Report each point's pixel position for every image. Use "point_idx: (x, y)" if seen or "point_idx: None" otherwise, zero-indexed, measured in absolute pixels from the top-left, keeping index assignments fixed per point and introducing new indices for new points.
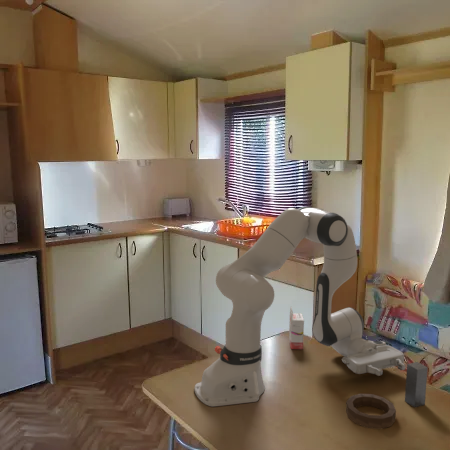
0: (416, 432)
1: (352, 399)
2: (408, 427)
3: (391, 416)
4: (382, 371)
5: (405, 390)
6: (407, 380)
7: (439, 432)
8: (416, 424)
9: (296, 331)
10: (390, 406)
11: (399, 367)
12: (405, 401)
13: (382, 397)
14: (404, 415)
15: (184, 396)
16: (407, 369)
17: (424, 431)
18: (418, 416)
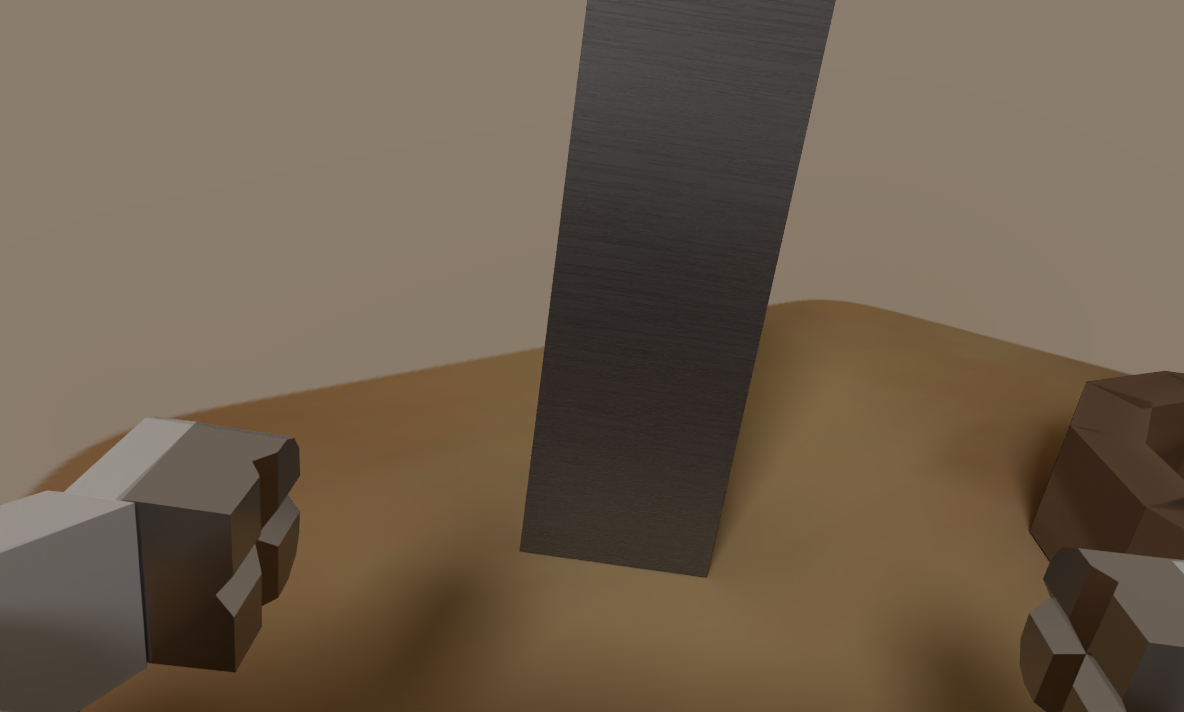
0: (940, 374)
1: None
2: (972, 408)
3: (1171, 374)
4: (1058, 564)
5: (736, 434)
6: (774, 255)
7: (768, 324)
8: (877, 397)
9: None
10: (1125, 418)
11: (260, 572)
12: (707, 565)
13: (1173, 519)
14: (908, 473)
15: None
16: (815, 70)
17: (870, 358)
18: (777, 422)
